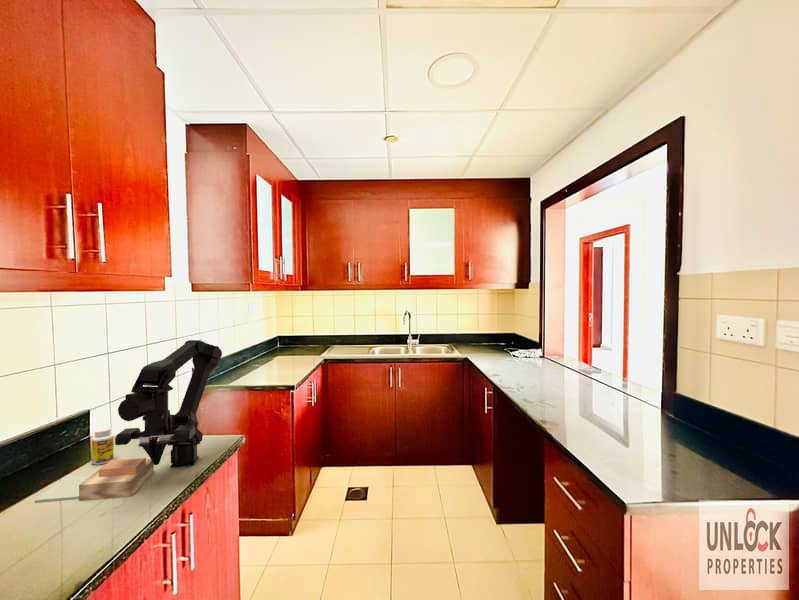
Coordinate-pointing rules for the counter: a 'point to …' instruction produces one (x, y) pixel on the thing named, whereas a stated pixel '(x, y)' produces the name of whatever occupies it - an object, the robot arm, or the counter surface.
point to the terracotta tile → (122, 467)
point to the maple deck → (114, 484)
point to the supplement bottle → (102, 446)
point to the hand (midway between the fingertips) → (156, 464)
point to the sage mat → (63, 490)
